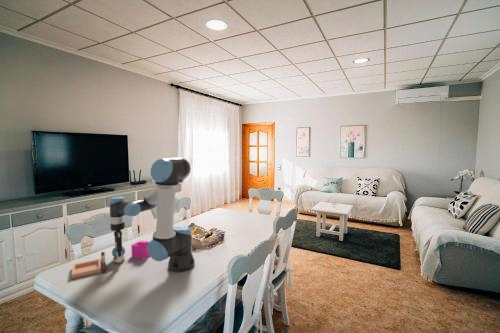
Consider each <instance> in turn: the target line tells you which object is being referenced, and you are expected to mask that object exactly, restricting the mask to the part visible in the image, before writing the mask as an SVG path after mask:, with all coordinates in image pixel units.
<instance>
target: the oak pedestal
mask: <svg viewBox="0 0 500 333" xmlns="http://www.w3.org/2000/svg"><path fill="white" fill-rule="evenodd" d="M112 261H113V264H114V265H121V264H124V262H125V254H124V255H123V256H122V261H120V262H117V258H115V257H114V256H113V258H112Z"/></svg>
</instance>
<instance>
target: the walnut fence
mask: <svg viewBox="0 0 500 333" xmlns="http://www.w3.org/2000/svg"><path fill="white" fill-rule="evenodd" d="M105 252H106V251H101V253H100V256H101V258H100V259H101V273H103V274H105V273H107V267H106V266H107V264H106V263H107V262H105V261H106V258H105V257H106V254H105Z"/></svg>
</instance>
